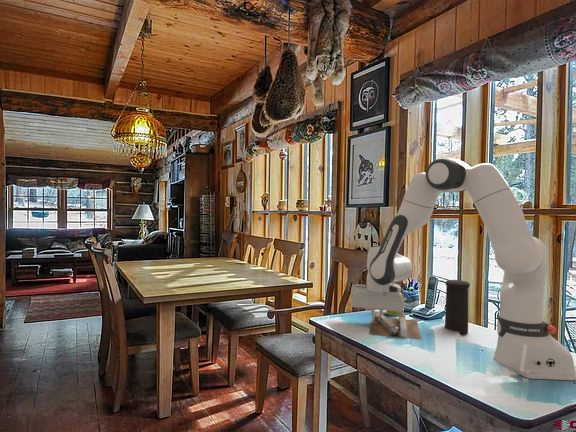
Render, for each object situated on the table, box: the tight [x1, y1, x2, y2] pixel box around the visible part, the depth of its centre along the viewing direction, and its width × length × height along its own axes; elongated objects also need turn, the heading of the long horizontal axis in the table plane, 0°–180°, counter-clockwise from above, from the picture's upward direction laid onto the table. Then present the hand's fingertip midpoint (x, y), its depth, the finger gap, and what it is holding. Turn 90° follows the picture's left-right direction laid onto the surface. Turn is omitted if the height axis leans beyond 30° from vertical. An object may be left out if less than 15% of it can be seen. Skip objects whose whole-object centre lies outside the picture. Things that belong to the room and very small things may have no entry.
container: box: [444, 279, 471, 336], centre depth 147 cm, size 9×9×20 cm
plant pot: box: [385, 296, 407, 317], centre depth 167 cm, size 9×9×9 cm
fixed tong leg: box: [398, 313, 408, 339], centre depth 145 cm, size 2×22×3 cm, turn 165°
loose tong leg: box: [375, 312, 398, 336], centre depth 146 cm, size 2×22×3 cm, turn 2°
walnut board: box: [368, 316, 422, 341], centre depth 147 cm, size 18×25×2 cm
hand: (376, 320), depth 152 cm, fingers closed
